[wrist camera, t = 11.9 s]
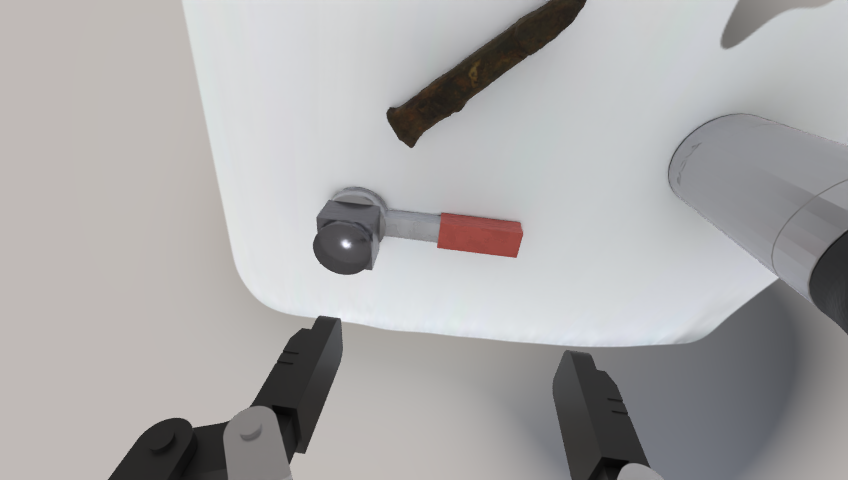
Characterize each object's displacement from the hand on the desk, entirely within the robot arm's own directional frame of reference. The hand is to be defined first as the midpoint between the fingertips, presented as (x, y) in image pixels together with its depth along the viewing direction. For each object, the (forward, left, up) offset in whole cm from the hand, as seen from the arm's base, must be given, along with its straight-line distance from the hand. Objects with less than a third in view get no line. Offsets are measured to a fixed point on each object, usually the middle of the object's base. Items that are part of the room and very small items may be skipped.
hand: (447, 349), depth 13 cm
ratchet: (+2, +10, -28) cm, 30 cm away
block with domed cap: (+10, +10, -25) cm, 29 cm away
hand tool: (-1, -7, -28) cm, 29 cm away
